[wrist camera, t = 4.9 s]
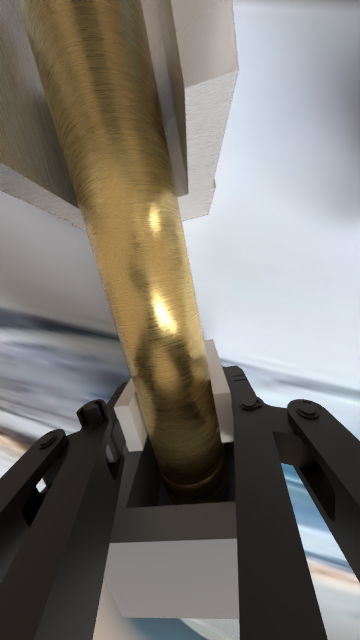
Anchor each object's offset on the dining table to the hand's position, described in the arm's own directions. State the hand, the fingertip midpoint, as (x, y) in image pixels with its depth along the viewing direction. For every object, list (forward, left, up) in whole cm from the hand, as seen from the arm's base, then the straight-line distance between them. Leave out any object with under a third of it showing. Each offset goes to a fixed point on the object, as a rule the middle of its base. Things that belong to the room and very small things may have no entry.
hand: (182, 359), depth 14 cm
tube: (-6, 0, +3) cm, 6 cm away
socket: (+5, 0, -1) cm, 5 cm away
